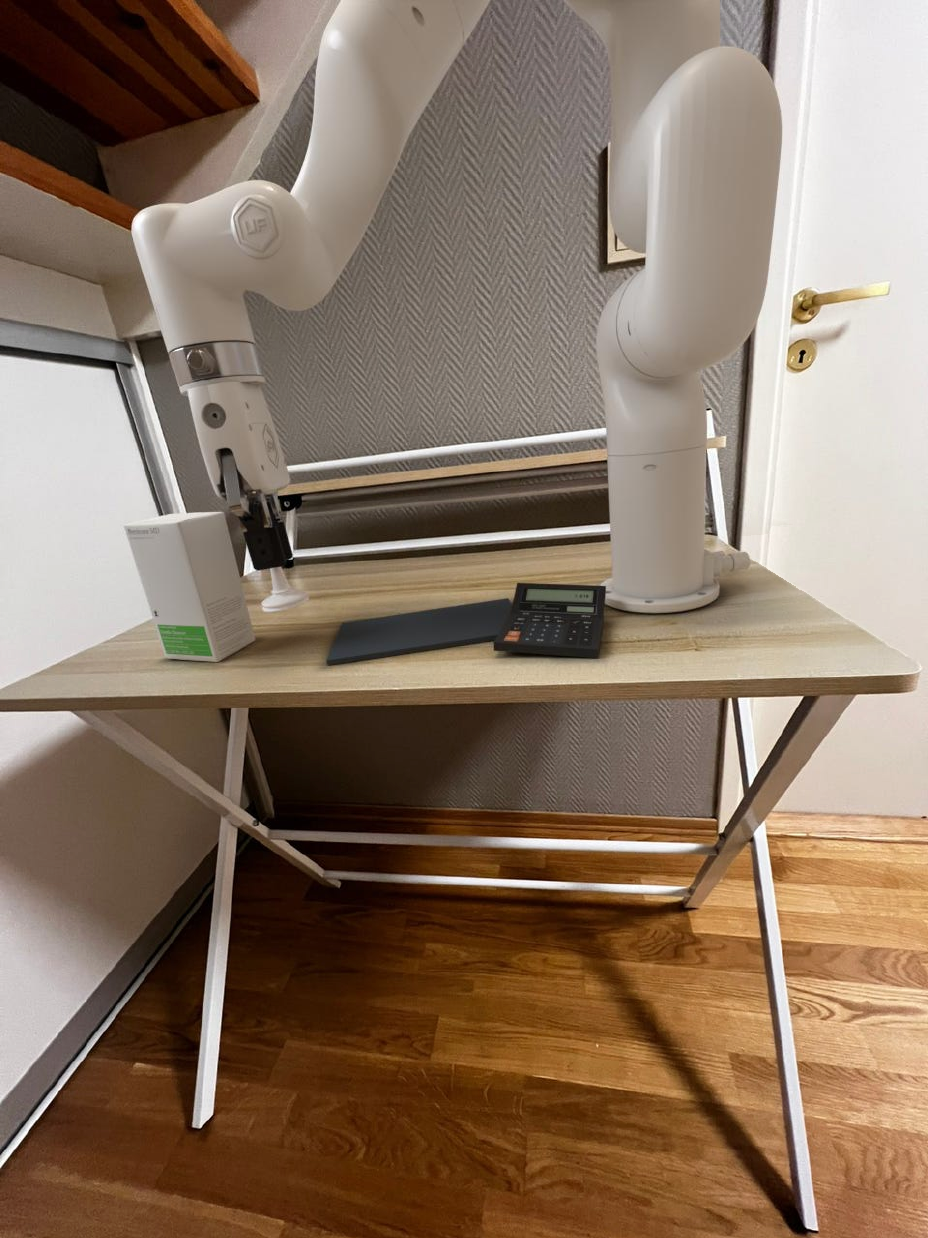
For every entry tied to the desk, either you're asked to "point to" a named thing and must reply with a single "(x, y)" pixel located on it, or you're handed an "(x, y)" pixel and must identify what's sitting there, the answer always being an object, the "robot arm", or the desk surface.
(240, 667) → the desk surface
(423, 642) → the desk mat
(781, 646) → the desk surface
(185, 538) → the cosmetic box
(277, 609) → the chess piece
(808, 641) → the desk surface
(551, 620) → the calculator
